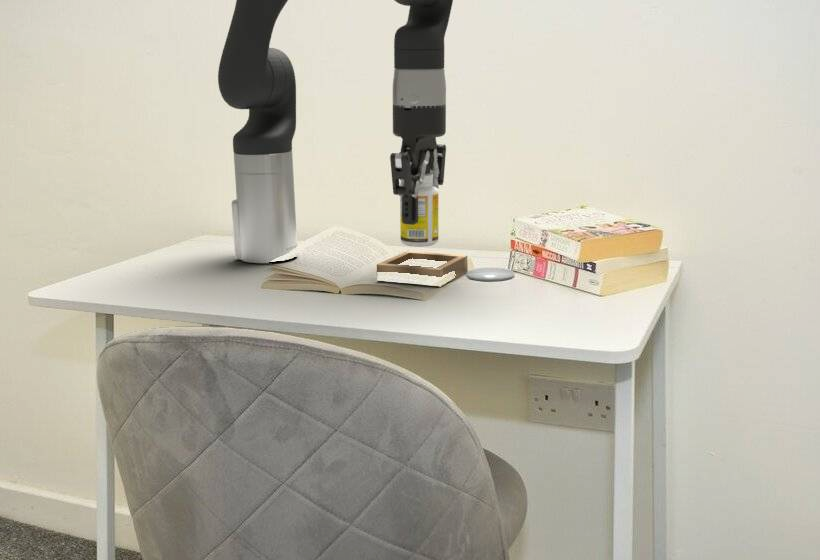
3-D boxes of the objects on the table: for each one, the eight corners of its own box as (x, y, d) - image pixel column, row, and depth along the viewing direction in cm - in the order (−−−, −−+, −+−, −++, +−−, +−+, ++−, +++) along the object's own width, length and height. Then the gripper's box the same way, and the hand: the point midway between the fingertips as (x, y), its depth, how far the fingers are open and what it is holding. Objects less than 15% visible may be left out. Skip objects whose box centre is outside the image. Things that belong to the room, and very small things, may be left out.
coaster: (458, 278, 138) (458, 276, 138) (476, 268, 144) (476, 266, 144) (504, 282, 135) (504, 280, 135) (520, 272, 141) (520, 269, 141)
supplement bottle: (426, 238, 143) (427, 170, 140) (445, 245, 138) (445, 174, 136) (393, 242, 140) (393, 172, 138) (411, 249, 136) (411, 177, 133)
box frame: (377, 281, 138) (376, 264, 137) (407, 266, 147) (406, 251, 146) (440, 287, 134) (440, 269, 133) (467, 272, 142) (467, 255, 142)
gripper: (417, 98, 142) (417, 210, 146) (371, 104, 130) (373, 226, 134) (463, 99, 139) (462, 214, 143) (421, 106, 126) (421, 231, 131)
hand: (419, 219), depth 138 cm, fingers closed on supplement bottle, 5 cm apart
